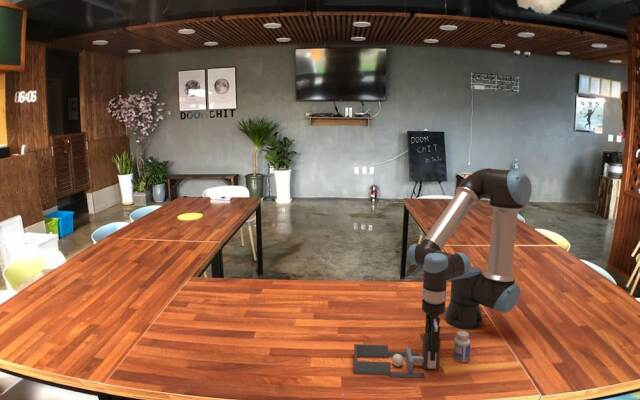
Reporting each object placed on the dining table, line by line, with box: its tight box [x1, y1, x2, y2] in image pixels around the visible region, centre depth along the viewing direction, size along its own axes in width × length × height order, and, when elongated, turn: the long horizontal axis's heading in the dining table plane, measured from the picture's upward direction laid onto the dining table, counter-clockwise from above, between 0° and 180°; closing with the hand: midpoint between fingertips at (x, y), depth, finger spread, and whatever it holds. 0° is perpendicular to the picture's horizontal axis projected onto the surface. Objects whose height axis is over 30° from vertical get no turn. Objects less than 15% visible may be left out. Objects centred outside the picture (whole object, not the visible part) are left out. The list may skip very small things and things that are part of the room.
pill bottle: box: [453, 330, 471, 363], centre depth 156 cm, size 6×5×10 cm
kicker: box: [405, 332, 441, 373], centre depth 151 cm, size 10×9×11 cm
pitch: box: [353, 343, 425, 379], centre depth 153 cm, size 23×14×4 cm, turn 86°
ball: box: [391, 354, 404, 367], centre depth 153 cm, size 4×4×4 cm
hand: (430, 363), depth 152 cm, fingers closed on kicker, 4 cm apart
